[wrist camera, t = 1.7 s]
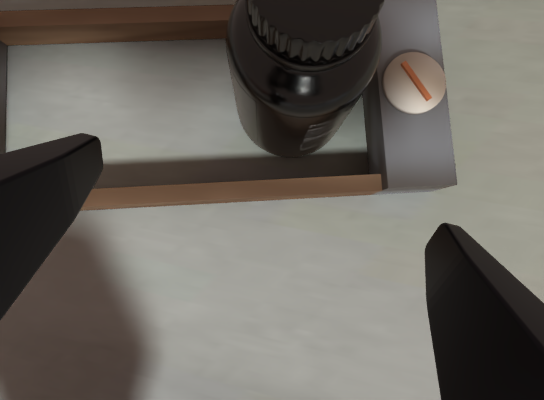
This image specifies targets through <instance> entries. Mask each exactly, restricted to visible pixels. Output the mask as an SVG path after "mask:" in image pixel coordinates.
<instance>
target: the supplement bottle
mask: <svg viewBox="0 0 544 400" xmlns="http://www.w3.org/2000/svg"><path fill="white" fill-rule="evenodd" d="M383 5H384V0H237V1H236V2H235V4H234V6H233V8H232V11H231V13H230V16H229V20H228V24H227V30H226V48H227V56H228V62H229V67H230V73H231V78H232V83H233V89H234V94H235V100H236V105H237V111H238V115H239V118H240V122H241V124H242V126H243V128H244V130H245V132H246V134H247V135H248V136H249V138H250V139H251V140H252V141H253V142H254V143H255V144H256V145H258V146H259V147H260V148H262V149H263V150H265V151H267V152H269V153H272V154H274V155H278V156H283V157H299V156H304V155H307V154H310V153H313V152H315V151H317V150H318V149H320V148H321V147H323V146H324V145H325V144H326V143H327V142H328V141H329V140H330V139H331V138H332V137H333V136H334V134H335V133H336V132H337V130H338V129H339V127H340V126H341V124H342V123H343V121H344V120H345V119H346V117H347V116H348V114H349V113H350V111H351V110H352V108H353V107H354V105H355V104H356V102H357V101H358V99H359V98H360V96H361V95H362V93H363V92H364V90H365V89H366V87H367V86H368V84H369V83H370V81H371V79H372V77H373V75H374V73H375V71H376V69H377V66H378V64H379V60H380V56H381V50H382V31H381V25H380V21H379V17H378V15H379V13H380V11H381V9H382V7H383Z"/></svg>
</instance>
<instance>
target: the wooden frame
mask: <svg viewBox="0 0 544 400" xmlns="http://www.w3.org/2000/svg"><path fill="white" fill-rule="evenodd" d="M233 6H234V5H204V6H168V7H132V8H96V9H60V10H24V11H0V154H3V153H5V127H6V74H7V45H37V44H68V43H99V42H130V41H160V40H191V39H222V38H226V30H227V24H228V20H229V16H230V13H231V11H232V8H233ZM378 17H379V21H380V25H381V31H382V50H381V56H380V60H379V64H378V66H377V69H376V71H375V73H374V75H373V77H372V79H371V81H370V83H369V84H368V86H367V87H366V89H365V90H364V92H363V93H362V94H363V105H364V116H365V128H366V139H367V150H368V161H369V172H370V174H369V175H349V176H330V177H311V178H292V179H273V180H253V181H234V182H215V183H196V184H176V185H157V186H138V187H119V188H100V189H92V190H91V192H90V194H89V196H88V197H87V199H86V201H85V203H84V204H83V206H82V208H81V210H80V211H83V210H101V209H119V208H138V207H156V206H174V205H192V204H211V203H229V202H247V201H265V200H283V199H302V198H320V197H338V196H356V195H375V194H393V193H411V192H429V191H435V190H439V189H442V188H446V187H450V186H453V185H457V177H456V169H455V160H454V151H453V143H452V134H451V125H450V117H449V108H448V99H447V91H446V78H445V73H444V65H443V56H442V47H441V39H440V30H439V21H438V13H437V4H436V0H384V5H383V7H382V9H381V11H380V13H379V15H378Z"/></svg>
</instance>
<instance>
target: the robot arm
mask: <svg viewBox="0 0 544 400" xmlns="http://www.w3.org/2000/svg"><path fill="white" fill-rule="evenodd" d="M102 169H103V159H102V150H101V142H100V140H99V138H98V137H96V136H92V135H88V134H84V133H80V134H76V135H72V136H68V137H65V138H61V139H57V140H53V141H49V142H45V143H42V144H38V145H34V146H30V147H26V148H22V149H19V150H15V151H11V152H7V153H3V154H0V320H1V319H2V317H3V316H4V315H5V313H6V312H7V311H8V309H9V308H10V307H11V305H12V304H13V303H14V301H15V300H16V298H17V297H18V296H19V294H20V293H21V292H22V290H23V289H24V288H25V286H26V285H27V284H28V282H29V281H30V279H31V278H32V277H33V275H34V274H35V273H36V271H37V270H38V269H39V267H40V266H41V265H42V263H43V262H44V260H45V259H46V258H47V256H48V255H49V254H50V252H51V251H52V250H53V248H54V247H55V246H56V244H57V243H58V241H59V240H60V239H61V237H62V236H63V235H64V233H65V232H66V231H67V229H68V228H69V227H70V225H71V224H72V222H73V221H74V219H75V218H76V216H77V215H78V213H79V211H80V210H81V208H82V206H83V204H84V203H85V201H86V199H87V197H88V196H89V194H90V192H91V190H92V188H93V187H94V185H95V183H96V181H97V180H98V178H99V176H100V174H101V172H102ZM425 276H426V301H427V310H428V317H429V323H430V330H431V336H432V343H433V349H434V356H435V362H436V369H437V375H438V382H439V388H440V395H441V400H544V303H543V302H542V301H541V300H540V299H538V298H537V297H536V296H535V295H534V294H533V293H532V292H531V291H530V290H529V289H528V288H526V287H525V286H524V285H523V284H522V283H521V282H520V281H519V280H518V279H517V278H516V277H514V276H513V275H512V274H511V273H510V272H509V271H508V270H507V269H506V268H505V267H504V266H502V265H501V264H500V263H499V262H498V261H497V260H496V259H495V258H494V257H493V256H492V255H490V254H489V253H488V252H487V251H486V250H485V249H484V248H483V247H482V246H481V245H479V244H478V243H477V242H476V241H475V240H474V239H473V238H472V237H471V236H470V235H469V234H467V233H466V232H465V231H464V230H463V229H462V228H461V227H459V226H457V225H453V224H449V223H442V224H441V225H440V226H439V227H438V228H437V230H436V231H435V233H434V234H433V236H432V237H431V239H430V240H429V242H428V243H427V245H426V248H425Z"/></svg>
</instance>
